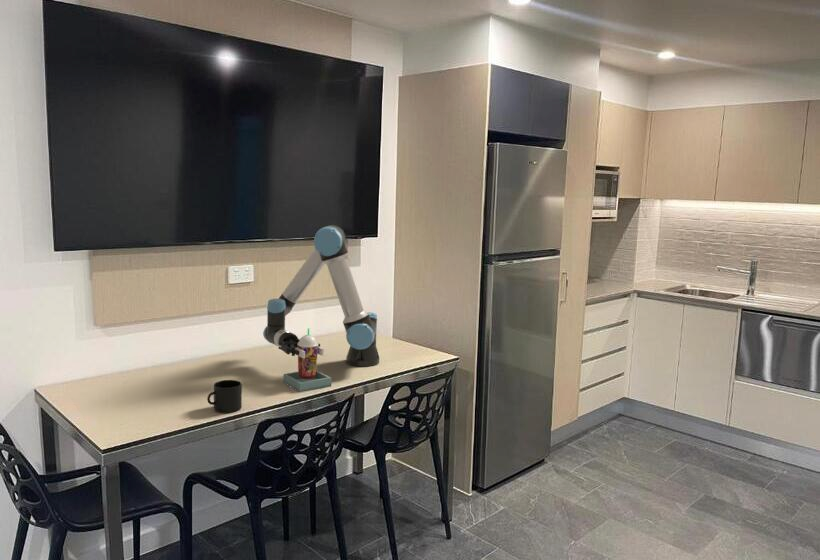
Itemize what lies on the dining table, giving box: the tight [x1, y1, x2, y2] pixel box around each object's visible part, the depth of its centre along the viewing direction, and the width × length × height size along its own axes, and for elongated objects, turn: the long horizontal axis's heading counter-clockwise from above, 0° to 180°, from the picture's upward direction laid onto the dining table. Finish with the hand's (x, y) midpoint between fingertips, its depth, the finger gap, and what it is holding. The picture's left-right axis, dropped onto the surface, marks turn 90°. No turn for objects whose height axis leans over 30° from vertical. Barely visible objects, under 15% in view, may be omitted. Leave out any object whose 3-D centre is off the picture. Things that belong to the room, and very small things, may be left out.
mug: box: [206, 379, 243, 414], centre depth 219 cm, size 9×12×9 cm
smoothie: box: [297, 327, 320, 379], centre depth 248 cm, size 8×8×20 cm
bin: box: [282, 369, 332, 393], centre depth 250 cm, size 14×14×4 cm
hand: (313, 353), depth 244 cm, fingers closed on smoothie, 7 cm apart
